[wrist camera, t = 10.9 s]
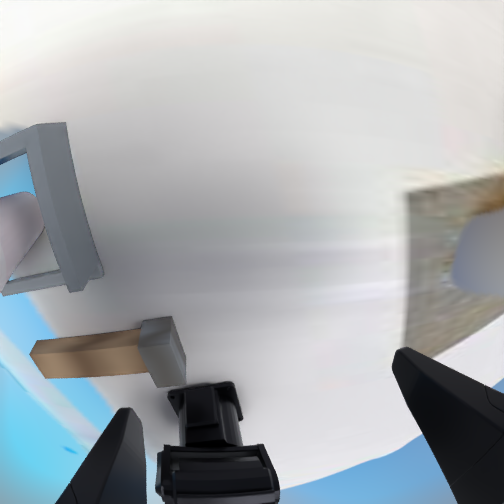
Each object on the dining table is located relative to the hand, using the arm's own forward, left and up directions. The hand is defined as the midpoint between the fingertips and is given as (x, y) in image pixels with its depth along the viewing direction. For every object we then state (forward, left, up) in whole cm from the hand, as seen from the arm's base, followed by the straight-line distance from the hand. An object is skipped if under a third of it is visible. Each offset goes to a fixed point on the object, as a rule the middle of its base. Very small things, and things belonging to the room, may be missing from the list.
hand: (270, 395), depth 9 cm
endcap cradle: (+5, +15, -13) cm, 20 cm away
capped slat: (-8, +13, -13) cm, 20 cm away
